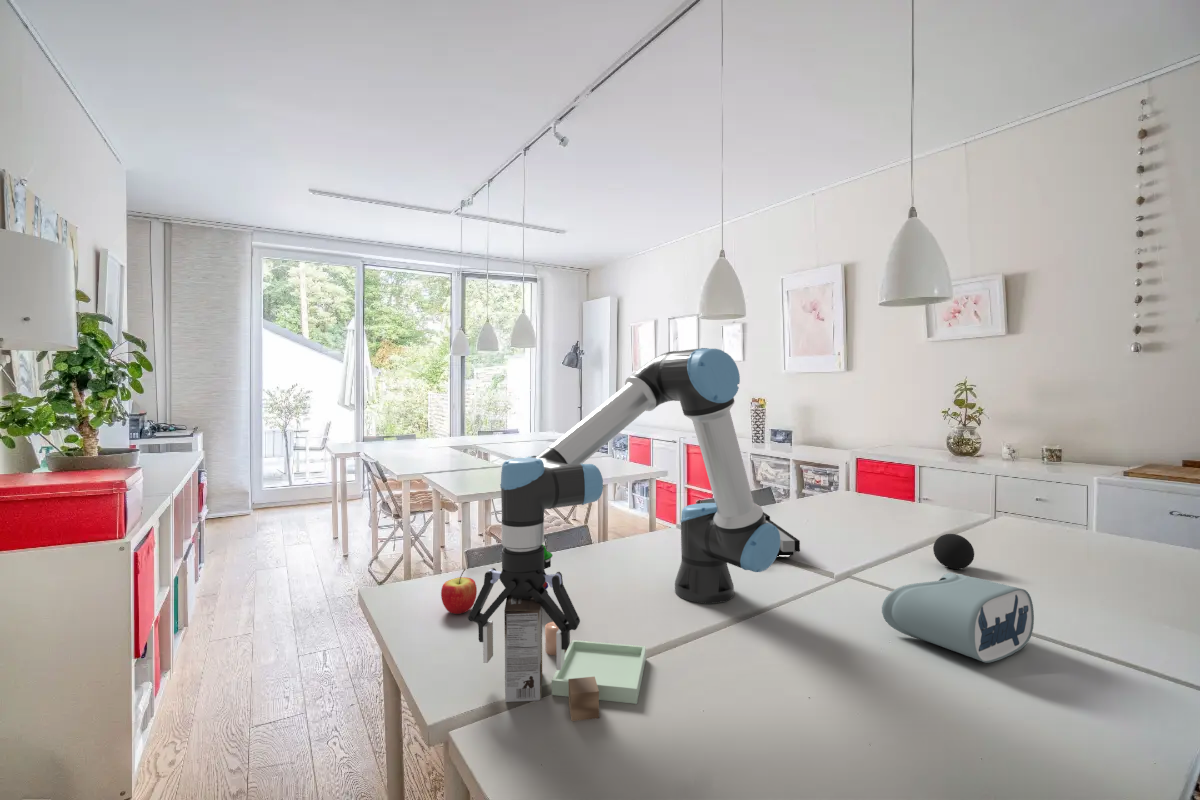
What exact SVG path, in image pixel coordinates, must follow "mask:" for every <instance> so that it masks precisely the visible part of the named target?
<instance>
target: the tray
mask: <svg viewBox="0 0 1200 800" xmlns="http://www.w3.org/2000/svg"><path fill="white" fill-rule="evenodd" d="M646 660H647V646H645V645H635V644H627V643H626V644H624V643H613V642H600V641H586V640H578V639H577V640H576V639H572V640H570V644H569V647H568V649H567V651H566V652H565V663H564V665H563V667H562V669H561V670H557V669H556V671H555V672H554V675H553V676H552V679H551V695H552V696H559V697H568V698H569V681H568V679H574V678H584V677H594V676H595V679H596V683H597V687H598V690H599V701H604V702H605V701H606V702H615V703H616V702H617V703H626V704H633V705H634V704H635V705H637V704H638V700H639V695H640V691H641V685H642V681H643V675H644V670H645V666H646V662H647V661H646Z"/></svg>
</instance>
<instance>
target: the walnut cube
mask: <svg viewBox="0 0 1200 800" xmlns="http://www.w3.org/2000/svg"><path fill="white" fill-rule="evenodd" d="M568 681H569V697H568V709H569V714H570V719H571V722H575V721H584V720H585V721H586V720H593V719H594V720H595V719H600V700H599V690H598V687H597V683H596V679H595V676H594V677H584V678H574V679H568Z"/></svg>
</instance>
